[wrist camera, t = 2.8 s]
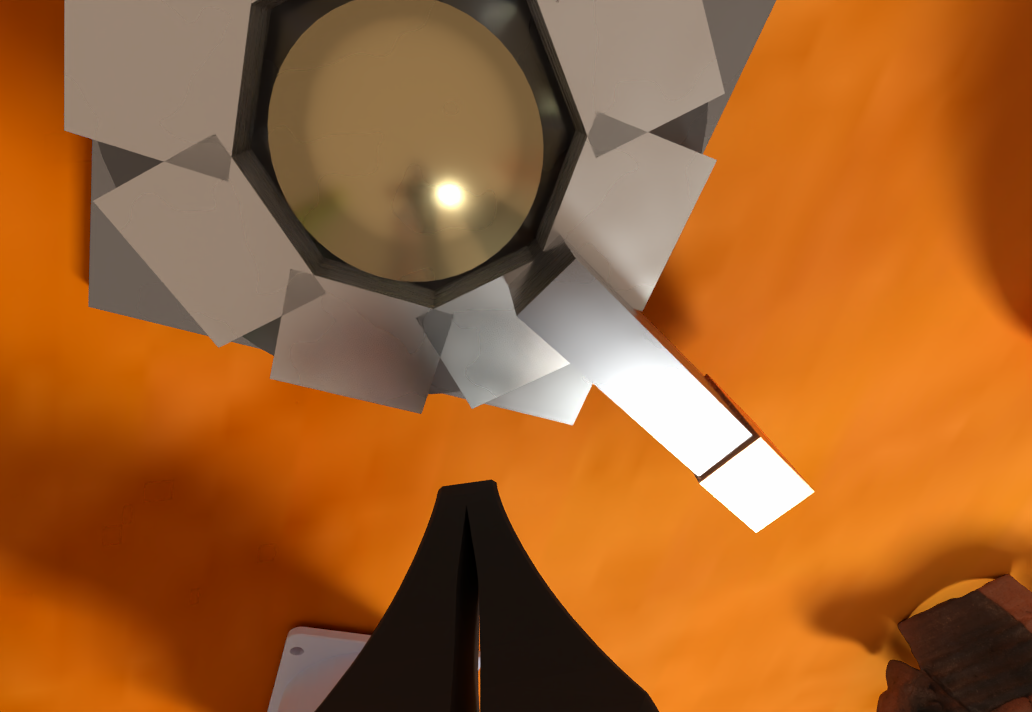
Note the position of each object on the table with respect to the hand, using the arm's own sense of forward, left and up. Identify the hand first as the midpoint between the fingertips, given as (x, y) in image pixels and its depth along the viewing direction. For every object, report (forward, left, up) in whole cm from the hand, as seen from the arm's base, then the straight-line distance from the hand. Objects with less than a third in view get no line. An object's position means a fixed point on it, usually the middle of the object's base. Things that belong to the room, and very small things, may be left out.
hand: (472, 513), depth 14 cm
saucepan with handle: (+8, +1, -3) cm, 8 cm away
